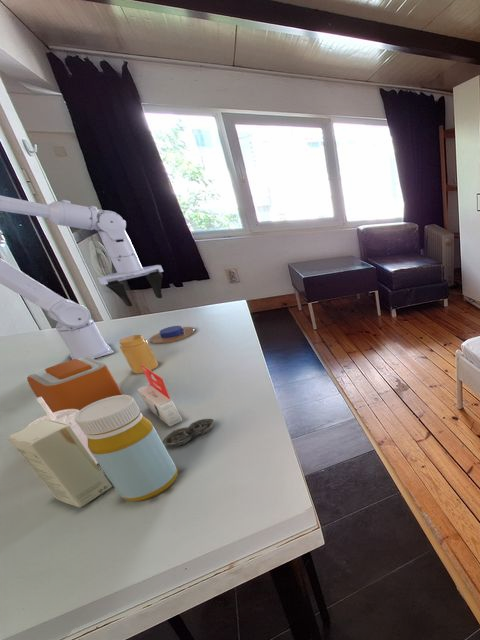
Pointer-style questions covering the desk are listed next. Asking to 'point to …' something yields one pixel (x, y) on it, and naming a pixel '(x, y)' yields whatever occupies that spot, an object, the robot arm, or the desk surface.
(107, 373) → the alarm clock
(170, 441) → the corroded twin loop
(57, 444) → the cosmetic box
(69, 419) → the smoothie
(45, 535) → the desk surface
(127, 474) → the bottle
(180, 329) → the lid
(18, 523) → the desk surface
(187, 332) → the coaster
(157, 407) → the ink cartridge box
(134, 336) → the jar
